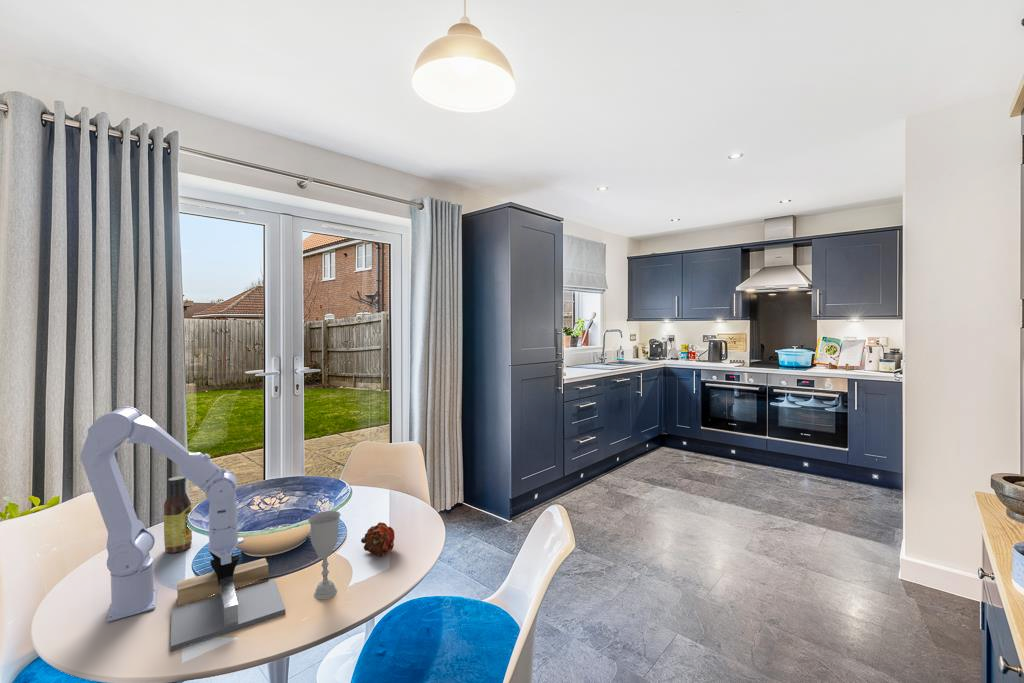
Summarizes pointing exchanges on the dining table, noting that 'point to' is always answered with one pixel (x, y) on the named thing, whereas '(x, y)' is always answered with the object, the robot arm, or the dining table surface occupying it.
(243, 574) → the oak bar
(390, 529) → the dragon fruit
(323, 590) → the chalice
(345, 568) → the dining table surface
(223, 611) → the steel ridge
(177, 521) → the sauce bottle
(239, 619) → the slate base plate
